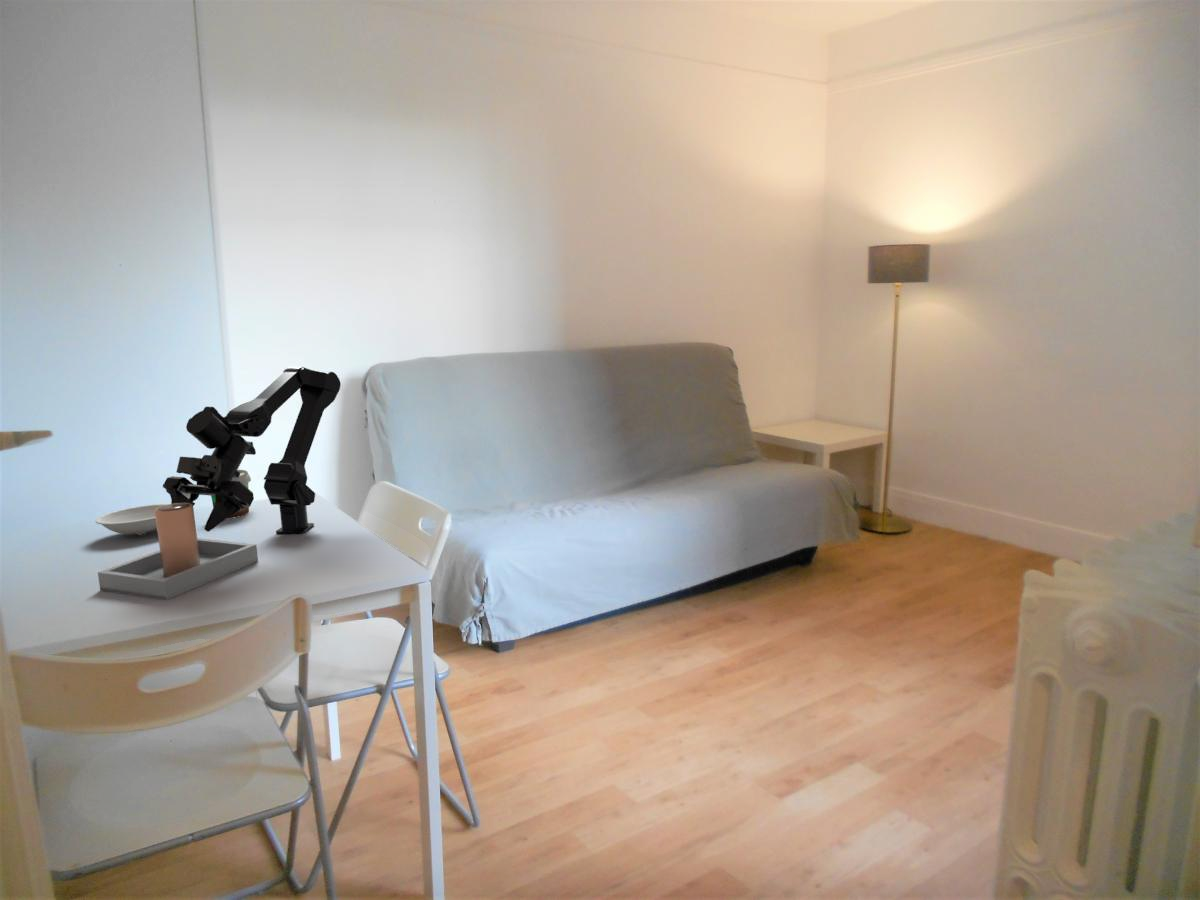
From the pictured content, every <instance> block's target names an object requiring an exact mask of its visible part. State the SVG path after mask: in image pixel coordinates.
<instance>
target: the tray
mask: <svg viewBox="0 0 1200 900" xmlns="http://www.w3.org/2000/svg"><path fill="white" fill-rule="evenodd" d="M197 540H198V548H199V556H200V565H197V566H195V567H192V568H190V569H187V570H185V571H182V572H180V573H177V574H175V575H172V576H170V577H165V576H164V575H163V568H162V561H161V553H160V549H159V550H156V551H154V552H151V553H148V554H145V555H142V556H140V557H137V558H134V559H132V560H129V561H125V562H123V563H121V564H118V565H114V566H112V567H109V568H106V569H103V570H101V571H98V572H97V576H98V577H97V578H98V584H99V590H100V591H101V592H102V591H103V592H109V593H115V594H121V595H130V596H135V597H136V596H137V597H142V598H143V597H144V598H150V599H156V600H157V599H158V600H163V601H168V600H170V599H172V598H174V597H177V596H180V595H182V594H184V593H186V592H188V591H191V590H194V589H196V588H198V587H201V586H203V585H205V584H208V583H209V582H212V581H214V580H217V579H219V578H222V577H223V576H226V575H228V574H231V573H233V572H235V571H238V570H240V569H244V568H245V567H247V566H250V565H252V564H255V563H257V562H259V557H258V547H257V544H255V543H246V542H237V541H228V540H219V539H209V538H200V537H197Z"/></svg>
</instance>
